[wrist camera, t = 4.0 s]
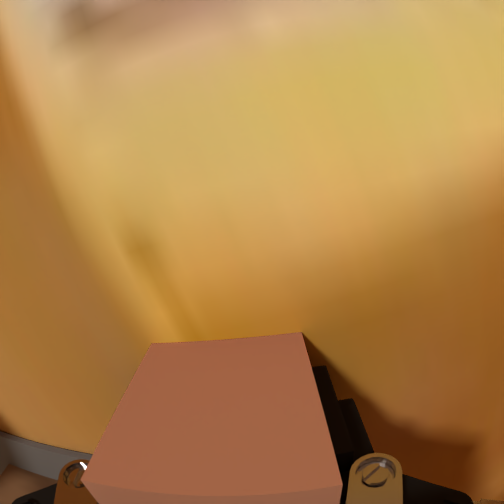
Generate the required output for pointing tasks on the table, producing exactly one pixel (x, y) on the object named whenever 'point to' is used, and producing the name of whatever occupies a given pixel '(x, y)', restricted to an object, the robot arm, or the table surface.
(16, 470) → the tower base
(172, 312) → the table surface
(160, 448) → the terracotta block
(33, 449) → the mat
